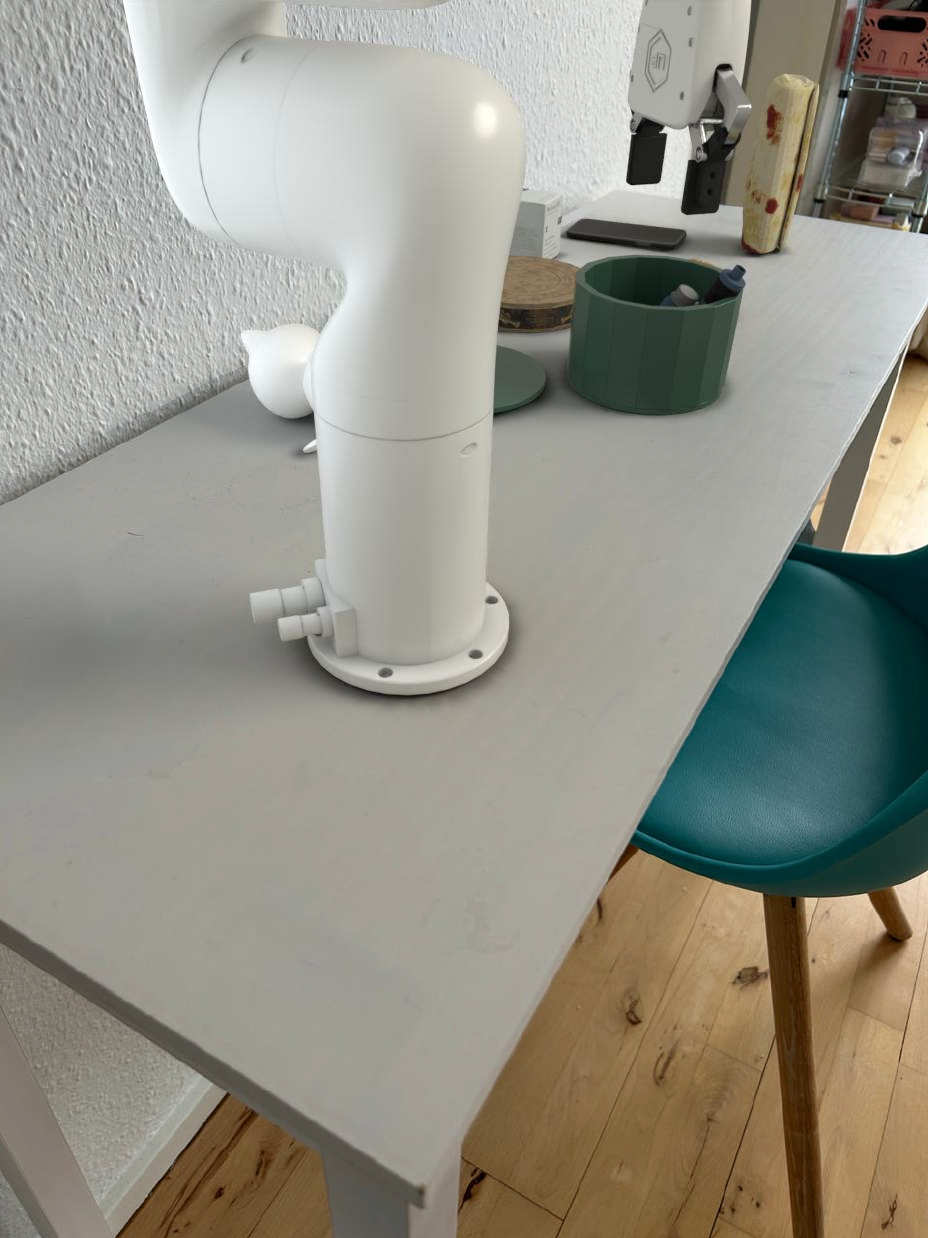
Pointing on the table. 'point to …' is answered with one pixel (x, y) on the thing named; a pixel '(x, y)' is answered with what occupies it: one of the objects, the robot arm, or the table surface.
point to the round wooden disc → (537, 295)
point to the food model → (778, 162)
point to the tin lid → (516, 379)
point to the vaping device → (718, 291)
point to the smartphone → (627, 233)
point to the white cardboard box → (538, 224)
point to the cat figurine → (283, 369)
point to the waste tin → (649, 335)
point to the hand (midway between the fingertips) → (669, 197)
